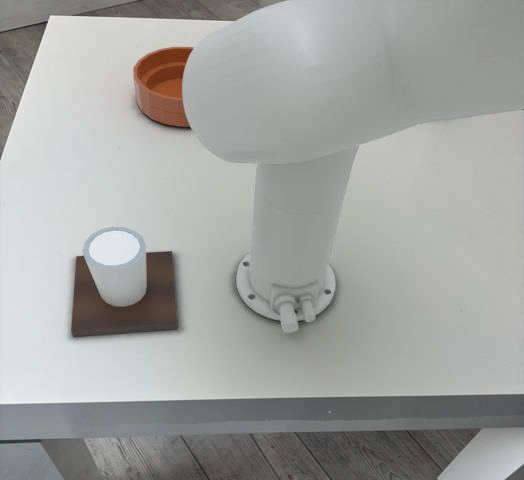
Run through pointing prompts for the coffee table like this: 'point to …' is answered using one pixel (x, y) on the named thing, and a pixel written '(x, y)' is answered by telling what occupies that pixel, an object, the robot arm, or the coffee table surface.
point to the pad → (129, 317)
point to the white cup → (117, 264)
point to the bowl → (162, 85)
